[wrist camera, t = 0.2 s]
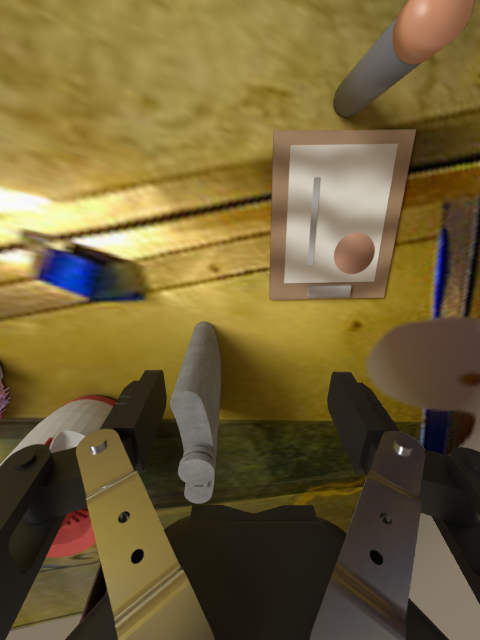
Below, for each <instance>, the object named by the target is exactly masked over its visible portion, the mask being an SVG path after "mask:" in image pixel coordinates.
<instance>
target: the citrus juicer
mask: <svg viewBox="0 0 480 640" xmlns="http://www.w3.org/2000/svg"><path fill="white" fill-rule="evenodd" d="M115 404H116V401H114V400H112V399H110V398H107V397H103V396H97V395H89V396H84V397H80V398H78V399H75V400H73V401H71V402H69V403H67V404H65V405H64V406H62V407H61V408H59V409H58V410H56V411H55V412H53V413H52V414H51V415H49V416H48V417H47V418H46V419H44V420H43V421H42V422H40V423H39V424H38V425H37V426H36V427H35V428H34V429H33V430H32V431H31V432H30V433H29V434H28V435H27V436H26V437H25V438H24V439H23V440H22V441H21V443H20V444H19V445H18V446H17V447H16V448H15V449H14V450H13V451H12V452H11V453H10V454H9V456H11V455H12V454H13V453H15V452H16V451H18V450H20V449H22V448H24V447H27V446H30V445H34V444H44V445H47V446H48V447H49V449H50V451H51V453H54V452H58V451H62V450H66V449H70V448H73V447H77V446H78V444H79V442H80V441H81V440H82V439H83V438H84V437H86V436H87V435H88V434H90V433H92V432H94V431H97V430H99V429H100V428H101V426H102V424H103V423H104V421H105V419H106V418H107V416H108V414H109V413H110V411H111V410H112V408H113V406H114V405H115ZM9 456H8V457H9ZM8 457H7V458H8ZM7 458H6V459H7ZM6 459H5V460H6ZM5 460H4V461H5ZM4 461H3V462H4ZM3 462H2V463H1V464H0V466H1V465H2V464H3ZM95 542H96V540H95V536H94V532H93V527H92V523H91V519H90V515H89V511H88V508H84V509H81V510H78V511H75V512H72V513H69V514H67V515H66V517H65V519H64V521H63V523H62V525H61V527H60V529H59V531H58V533H57V535H56V537H55V539H54V541H53V543H52V545H51V548H50V550H49V552H48V554H47V556H46V557H64V556H69V555H74V554H76V553H79V552H82V551H84V550H86V549H87V548H89V547H91V546H92V545H93V544H94V543H95Z"/></svg>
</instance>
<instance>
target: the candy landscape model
mask: <svg viewBox="0 0 480 640" xmlns="http://www.w3.org/2000/svg"><path fill="white" fill-rule="evenodd" d="M2 378H3V373H2V370H1V367H0V406H1V408H0V419H1V418H2V414H1V413H2V412H3V411H5V410H6V409H4V410H3V411H2V412H1V409H2V408H4V407H5V406H6V405H7V404H8V403H9V402H10V401H7V400H8V399H10V398H11V397H9V398H8V399H7V400H6V401H5V399H6V398H5V397H6V396H7V394H9V392H8V393H7V394H6V393H5V391H6V390H8V389H9V388H10V387H8V388H7V389H4V385H3V384H2V382H1V381H2ZM3 389H4V390H5V391H4V390H3ZM2 398H4V399H3V400H2ZM3 402H4V403H3Z"/></svg>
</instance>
